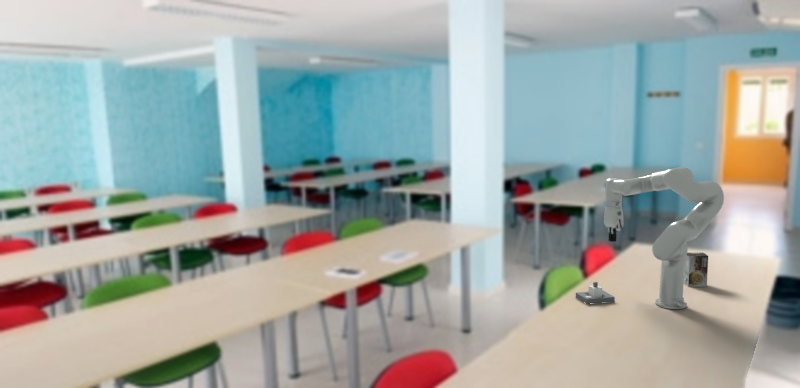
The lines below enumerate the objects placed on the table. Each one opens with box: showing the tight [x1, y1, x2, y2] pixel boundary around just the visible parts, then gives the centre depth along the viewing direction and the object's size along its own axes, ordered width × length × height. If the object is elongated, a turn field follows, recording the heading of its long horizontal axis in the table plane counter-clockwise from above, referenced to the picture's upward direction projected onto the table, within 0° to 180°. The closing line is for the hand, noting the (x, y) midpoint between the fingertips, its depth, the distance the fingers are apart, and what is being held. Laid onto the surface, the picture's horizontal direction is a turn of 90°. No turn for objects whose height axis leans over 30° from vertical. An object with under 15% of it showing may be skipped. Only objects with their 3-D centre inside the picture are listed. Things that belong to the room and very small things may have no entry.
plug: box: [587, 281, 603, 298], centre depth 264 cm, size 4×4×8 cm
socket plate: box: [575, 289, 616, 305], centre depth 265 cm, size 10×14×3 cm
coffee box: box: [684, 252, 709, 288], centre depth 284 cm, size 9×6×16 cm
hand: (612, 241), depth 277 cm, fingers closed
